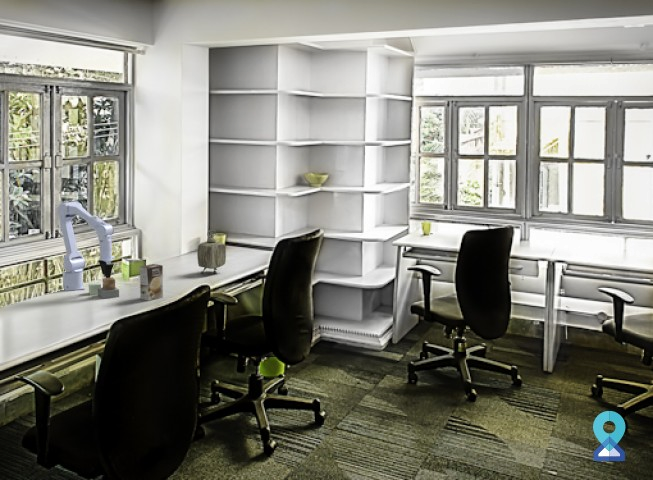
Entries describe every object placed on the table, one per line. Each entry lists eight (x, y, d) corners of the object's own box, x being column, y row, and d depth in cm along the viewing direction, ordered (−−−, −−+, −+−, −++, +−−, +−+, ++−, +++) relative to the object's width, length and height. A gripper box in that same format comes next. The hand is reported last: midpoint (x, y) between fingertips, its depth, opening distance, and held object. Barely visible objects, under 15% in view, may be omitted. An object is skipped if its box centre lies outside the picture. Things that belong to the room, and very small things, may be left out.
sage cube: (90, 295, 354) (90, 285, 354) (88, 292, 359) (88, 283, 358) (101, 294, 357) (100, 284, 356) (99, 292, 361) (98, 282, 360)
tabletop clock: (215, 270, 415) (215, 227, 411) (227, 272, 410) (227, 229, 406) (197, 274, 404) (197, 230, 399) (209, 276, 399) (208, 232, 394)
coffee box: (149, 301, 346) (148, 268, 343) (140, 298, 349) (139, 266, 346) (163, 297, 353) (162, 265, 350) (154, 295, 357) (153, 263, 354)
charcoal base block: (102, 299, 348) (102, 291, 347) (97, 295, 354) (97, 288, 354) (119, 297, 352) (119, 289, 351) (114, 294, 359) (113, 286, 358)
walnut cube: (104, 290, 349) (104, 280, 348) (102, 288, 354) (102, 278, 353) (115, 289, 352) (115, 279, 351) (113, 287, 356) (112, 277, 355)
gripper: (117, 250, 348) (117, 278, 350) (110, 245, 361) (111, 272, 363) (102, 251, 345) (102, 279, 347) (96, 246, 357) (97, 273, 360)
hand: (106, 275), depth 355 cm, fingers open, 7 cm apart
